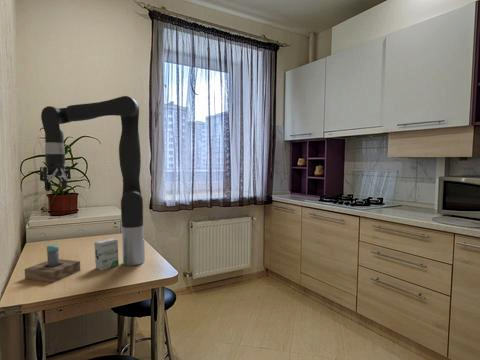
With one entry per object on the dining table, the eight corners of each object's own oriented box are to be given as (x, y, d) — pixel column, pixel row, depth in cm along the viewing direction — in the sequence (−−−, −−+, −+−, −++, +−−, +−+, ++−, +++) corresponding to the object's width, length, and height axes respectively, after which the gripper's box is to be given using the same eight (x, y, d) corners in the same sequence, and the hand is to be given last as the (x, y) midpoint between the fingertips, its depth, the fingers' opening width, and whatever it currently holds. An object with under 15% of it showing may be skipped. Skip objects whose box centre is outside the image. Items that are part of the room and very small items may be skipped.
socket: (54, 267, 140) (53, 258, 140) (80, 270, 137) (80, 261, 136) (25, 278, 127) (24, 269, 127) (53, 282, 123) (52, 272, 123)
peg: (53, 272, 135) (52, 244, 134) (61, 273, 133) (60, 245, 133) (45, 275, 130) (44, 246, 130) (53, 276, 129) (52, 247, 129)
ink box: (113, 263, 146) (112, 237, 145) (119, 265, 143) (118, 239, 142) (94, 268, 139) (93, 241, 139) (100, 270, 136) (99, 243, 136)
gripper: (48, 153, 132) (49, 191, 133) (74, 153, 146) (75, 188, 147) (33, 153, 134) (35, 191, 135) (61, 153, 148) (62, 188, 149)
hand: (56, 190), depth 141 cm, fingers open, 8 cm apart
